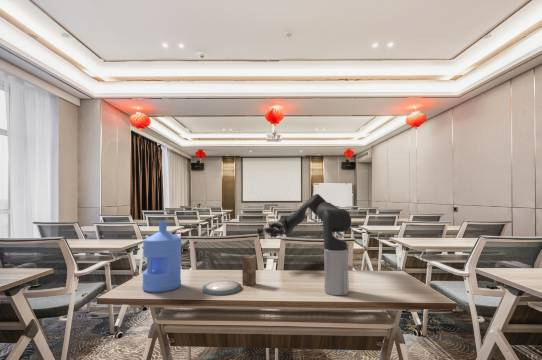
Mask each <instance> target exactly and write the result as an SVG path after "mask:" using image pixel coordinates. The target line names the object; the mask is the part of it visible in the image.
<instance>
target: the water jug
mask: <svg viewBox="0 0 542 360" xmlns="http://www.w3.org/2000/svg"><path fill="white" fill-rule="evenodd" d="M167 222H168V221H159V222H158V224H159V225H158V231H157V232H156V233H154V234H151V235H149V236H148V237H147V238H146V237H145V238H144V239H143V243H142V246H143V247H142V250H143V254H142V255H143V257H145V258H146V269H145V270H144V271H143V272H142V284H141V285H142V287H141V288H142V290H143V291H144V290H145V291H144V292H147V293H167V292H170V291H174V290H176V289H178V288H180V286H181V284H182V278H181V274H182V273H181V269H182V255H181V254H182V238H181V236H179V235H176V234H174V233H171V232H169V231H168V230H167V226H168V225H167Z"/></svg>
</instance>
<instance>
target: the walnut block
mask: <svg viewBox="0 0 542 360" xmlns="http://www.w3.org/2000/svg"><path fill="white" fill-rule="evenodd" d="M256 258H257V256H255V255H245V256H243V257H242V261H241V262H242V264H241V265H242V266H241V267H242V269H241V270H242V272H241V273H242V274H241V275H242V278H241V279H242V284H241V286H244V287H253V286H255V285H256V284H257V267H256V266H257V259H256Z"/></svg>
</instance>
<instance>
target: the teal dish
mask: <svg viewBox="0 0 542 360" xmlns="http://www.w3.org/2000/svg"><path fill="white" fill-rule="evenodd" d="M241 290H242V284H241V283H239V282H237V281H234V280H233V281H232V280H219V281H212V282H209V283H206V284H205V285H203V286H202V292H203V293H204V294H206V295H210V296H227V295H228V296H229V295H233V294H236V293H238V292H240V291H241Z"/></svg>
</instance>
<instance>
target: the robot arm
mask: <svg viewBox="0 0 542 360" xmlns="http://www.w3.org/2000/svg"><path fill="white" fill-rule="evenodd" d="M308 208H309V210H310V211H311V212H312V213H313V214H314V215H316V216H317V217H318V218H319V219H320V221H322V228H323V253H324V254H323V257H324V258H323V259H324V260H323V261H324V264H323V265H324V266H323V267H324V293H326V294H328V295H332V296H348V295H349V291H350V287H349V286H350V284H349V283H350V281H349V267H348V266H349V265H348V263H349V261H348V243H347V242H346V241H345V240H342V239H339V238H337V237H336V236H334V234H333V233H344V232H347V231H349V230H350V228H351V226H352V217H351V214H350V213H349V211H348V210H347V209H343V208H339V207H337V206H336V205H335V204H332V203H331V202H327V200H325V199H324V197H322V195H320V194H318V193H315V194H313V195H312V196H311V197H310V198H308V199H307V201H306V202H304V203H303V204H302V205H301V206H300V207H299V208H298V209H297V210H295V211H294V213H292V214H290V215H289V216H288V217H287V218H286V217H282V218H280V219H278V221H276V222H272V223H270V224H269V225H268V227H261V228H257V234H258V235H262V234H263V235H269V236H271V237H273V238H275V237H279V236H282V235H284V236H288V235H289V234H292V231H294V228H296V227H297V226H298V225H300V224H301V223H302V222H304V220H305V218H306V213H307V209H308Z"/></svg>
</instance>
